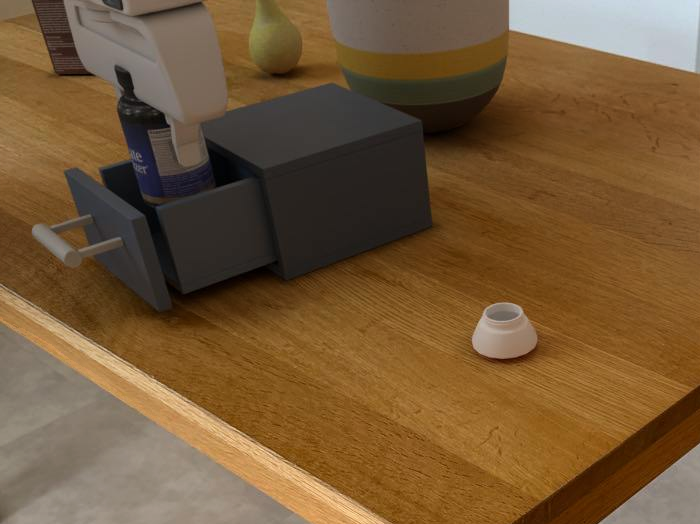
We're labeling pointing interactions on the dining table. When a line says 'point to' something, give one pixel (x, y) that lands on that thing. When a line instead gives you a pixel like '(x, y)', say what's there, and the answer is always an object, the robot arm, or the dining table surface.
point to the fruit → (274, 39)
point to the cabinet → (329, 172)
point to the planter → (423, 54)
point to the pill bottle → (158, 151)
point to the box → (58, 36)
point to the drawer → (167, 230)
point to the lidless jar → (504, 332)
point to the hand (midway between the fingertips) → (168, 151)
